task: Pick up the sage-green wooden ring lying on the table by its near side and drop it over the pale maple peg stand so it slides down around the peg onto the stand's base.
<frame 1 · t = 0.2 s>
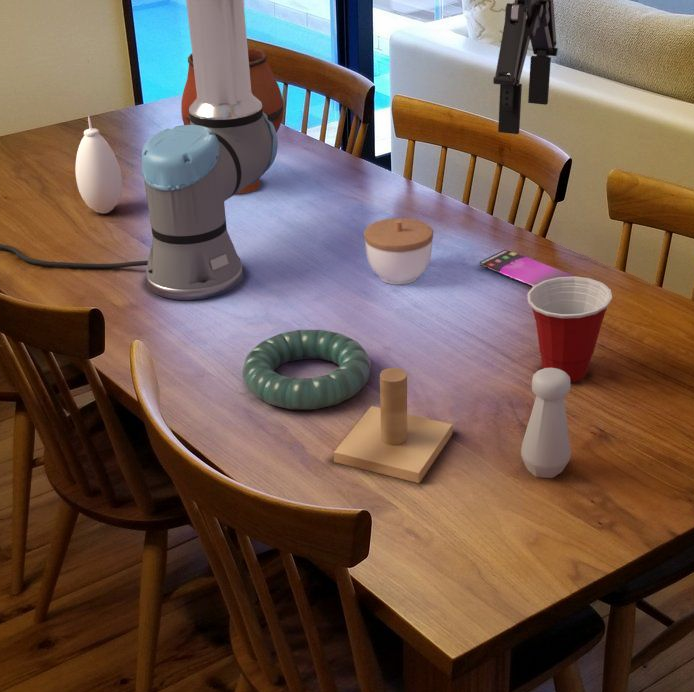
hand: (523, 117, 149), 28 cm above the table, tool pointing down, fingers open, 13 cm apart
salt shaker: (544, 469, 127), on the table
ring: (306, 368, 144), point 2 cm above the table
peg stand: (394, 447, 131), on the table
white air blower bulb: (104, 212, 197), on the table
terracotta vase: (239, 187, 206), on the table
trinket box: (399, 277, 171), on the table
smartphone: (529, 275, 170), on the table
plastic cup: (562, 373, 145), on the table
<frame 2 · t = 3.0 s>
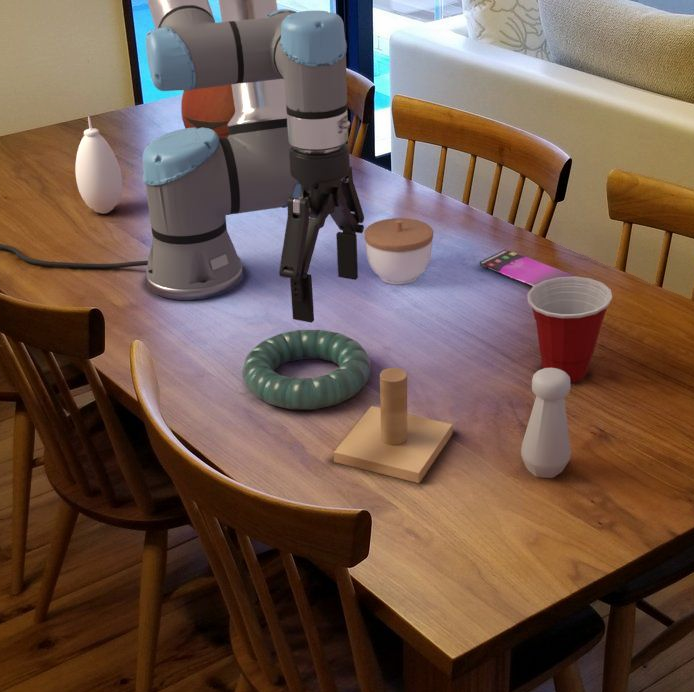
hand: (326, 298, 144), 9 cm above the table, tool pointing down, fingers open, 13 cm apart
nothing on the table moved.
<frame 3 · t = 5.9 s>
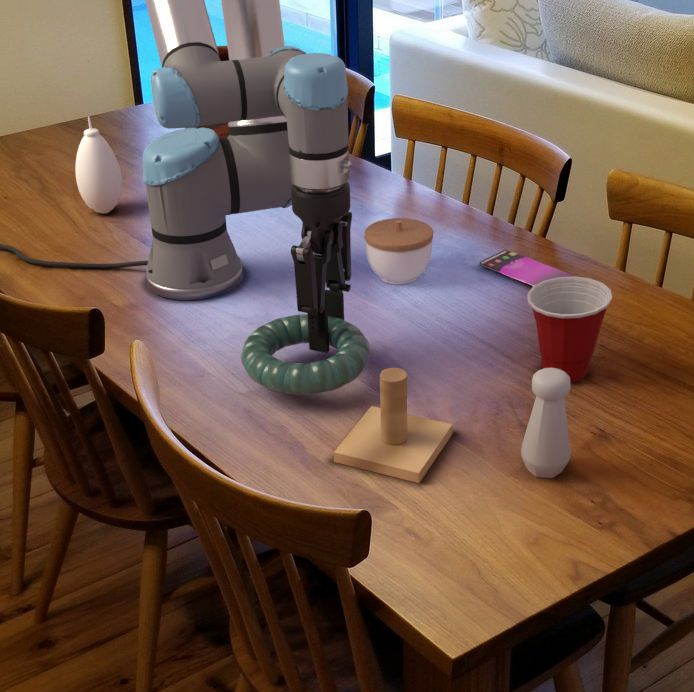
hand: (327, 341, 149), 2 cm above the table, tool pointing down, fingers closed on ring, 4 cm apart
ring: (305, 352, 143), point 4 cm above the table, touching gripper
everything else where it was.
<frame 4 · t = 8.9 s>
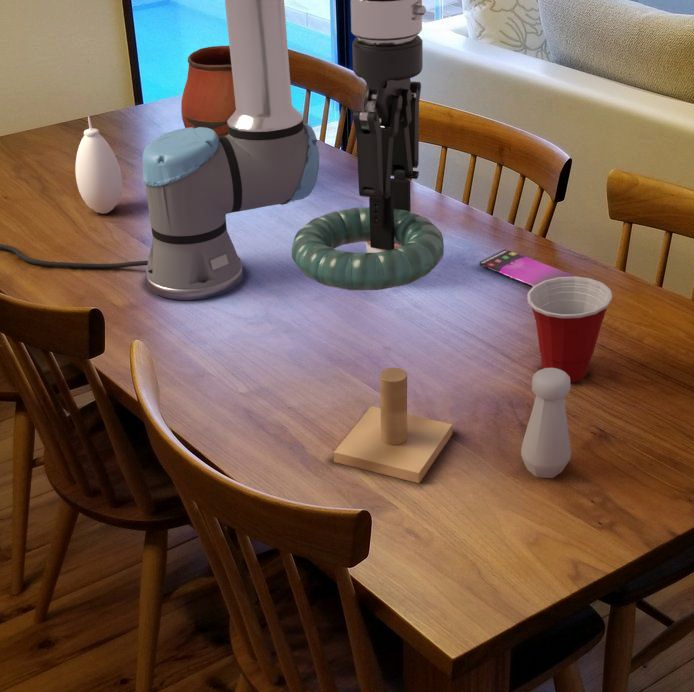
hand: (390, 239, 126), 23 cm above the table, tool pointing down, fingers closed on ring, 4 cm apart
ring: (367, 246, 121), point 25 cm above the table, touching gripper
everything else where it was.
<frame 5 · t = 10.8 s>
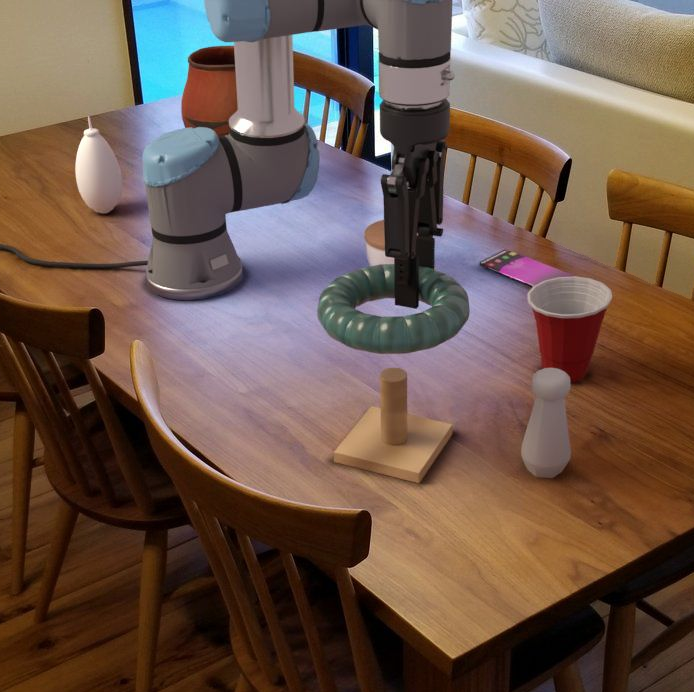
hand: (414, 296, 126), 18 cm above the table, tool pointing down, fingers closed on ring, 4 cm apart
ring: (393, 306, 121), point 19 cm above the table, touching gripper
everything else where it was.
when the fingers open (15 cm above the table, at t = 11.9 s): ring drops 13 cm, resting on peg stand.
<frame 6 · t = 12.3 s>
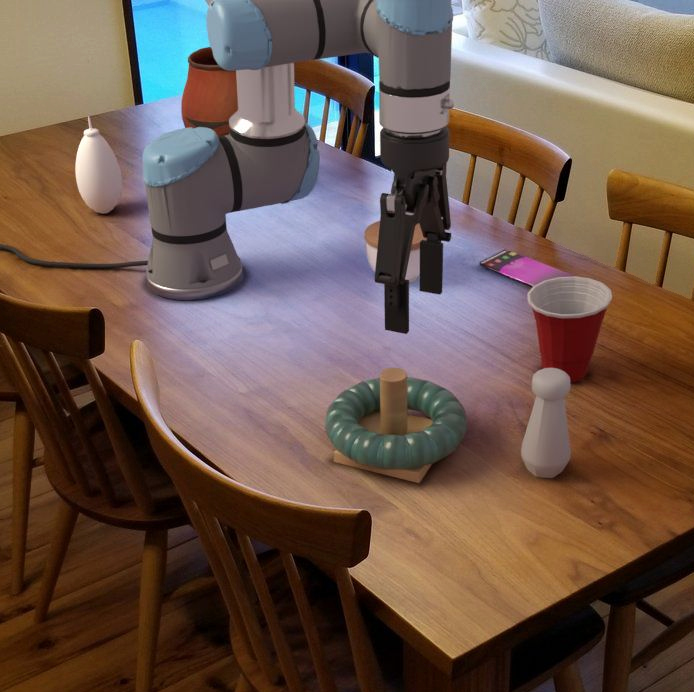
hand: (414, 310, 127), 16 cm above the table, tool pointing down, fingers open, 10 cm apart
ring: (395, 421, 130), point 3 cm above the table, touching peg stand
everything else where it was.
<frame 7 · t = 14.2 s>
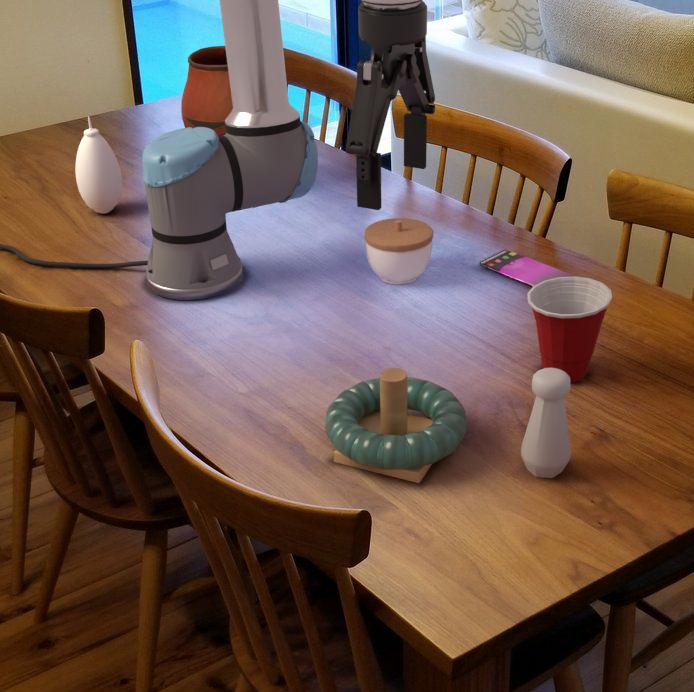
hand: (393, 186, 128), 28 cm above the table, tool pointing down, fingers open, 13 cm apart
nothing on the table moved.
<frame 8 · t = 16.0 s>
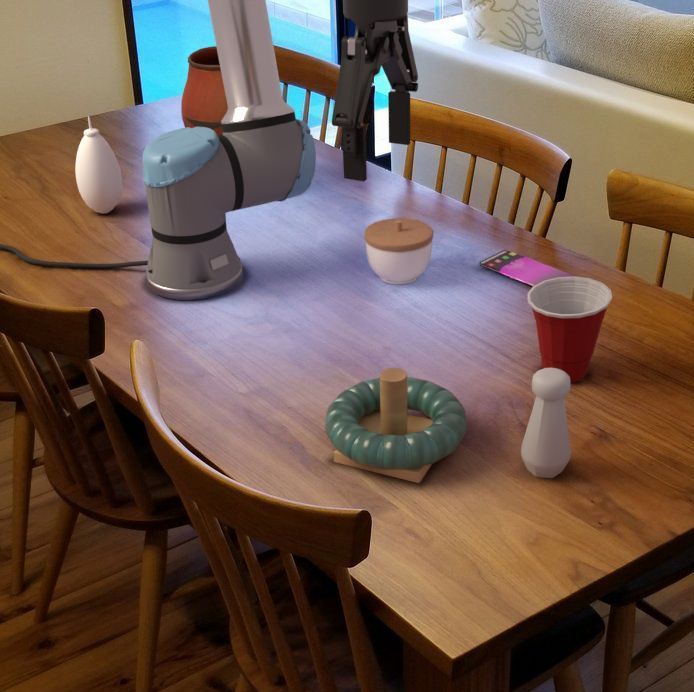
hand: (378, 160, 134), 29 cm above the table, tool pointing down, fingers open, 13 cm apart
nothing on the table moved.
at the end: ring 0.7 cm from the peg stand (horizontally); ring point 3.5 cm above the table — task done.
